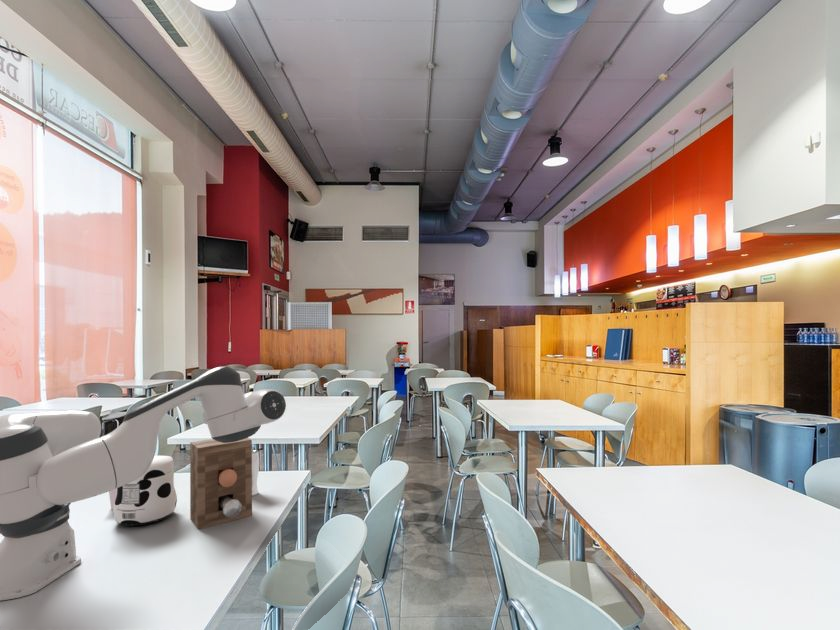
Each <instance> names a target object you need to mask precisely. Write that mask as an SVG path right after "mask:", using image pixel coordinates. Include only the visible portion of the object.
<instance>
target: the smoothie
mask: <svg viewBox="0 0 840 630" xmlns="http://www.w3.org/2000/svg"><path fill="white" fill-rule="evenodd" d="M108 494H109V495H108V496H109V502H110V509H111V510H113V508H114V503H115V500H116V496H117V488H116V489H114V490H111V491H108Z"/></svg>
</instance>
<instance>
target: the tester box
mask: <svg viewBox="0 0 840 630" xmlns="http://www.w3.org/2000/svg"><path fill="white" fill-rule="evenodd" d="M189 443H190V445H189V448H190V452H189V453H190V454H189V455H190V456H189V457H190V459H189V460H190V465H189V466H190V467H189V473H190V474H189V475H190V478H189V479H190V481H189V482H190V483H189V484H190V486H189V487H190V489H189V490H190V496H189V497H190V498H189V501H190V504H189V505H190V508H189V510H190V511H189V512H190V515H189V517H190V518H189V519H190V521H191V522H192V523H193V525H194V526H195V527H196V529H197V530H200V529H204V528H208V527H209V528H210V527H212V526H216V525H220V524H224V523H228V522H231V521H232V522H233V521H236V520H239V519H243V518H247V517H248V518H249V517H251V516H253V496H252V450H253V445H252V444H253V441H252V439H251V438H249V437H248V438H245V439H242V440H239V441H235V442H229V443H222V442H219V441H216V440H214V439H212V438H210V439H205V440H197V441H192V442H189ZM224 469H232V470H234V471H235V472H236V474H237V480H236V482H235V483H234V484H233V485H232V486H230V487H223V486H222V485H221V484H220V483H219V479H218V471H219V470H224ZM225 495H228V496H229V497H230V498H231V499H237V500H238V501H239V502H240V503H241V505H242V508H241V511H240V513H239V514H238V515H237V516H236V517H234V518H228V517H226V516H225V515H224V514H223V509H222V508H221V507H220V506H219V503H218V502H219V499H220V498H221V497H222V496H225Z"/></svg>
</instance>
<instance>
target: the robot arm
mask: <svg viewBox="0 0 840 630" xmlns="http://www.w3.org/2000/svg"><path fill="white" fill-rule="evenodd" d="M242 386H243V384H242V380H241V375H240V373H239V372H238V371H237V370H235V369H234V368H232V367H229V365H228V366H217V367H214V368H211V369H209V370H206V371H205V372H204V373H202V374H200V375H199V376H197V377H196V378H194V379H192V380H190V381H189V382H187V383H185V384H182V385H180V386H177V387H176V388H174V389H171V390H169V391H167V392H165V393H163V394H161V395H159V396H157V397H155V398H152V399H151V400H148V401H146V402H145V403H142V404H141V405H139V406H137V407H135V408H133V409H131V410H130V411H129V412H127V413H126V414H125V415H124V418H123V419H122V423H121V424H120V425H118V426H117V427H116V428H115V429H113V430H112V431H111V432H108V433H107V434H105V435H102V436H101V432H102V424H101V420H100V418H99V417H98V416H97V415H96V414H95V413H94V412H92V411H85V410H78V409H77V410H76V409H69V410H68V409H67V410H52V411H37V412H36V411H35V412H21V413H19V412H18V413H10V414H4V415H0V534H1V535H2V537H3V539H2V540H1V542H0V602H1V601H7V600H12V599H17V598H22V597H26V596H29V595H33V594H34V593H37V592H39V591H40V590H41V589H43V588H44V587H46V586H48V585H49V584H51V583H52V582H53V581H55V580H56V579H58V578H60V577H61V576H63V575H65V574H66V573H67V572H69V571H70V570H72V569H74V568H75V567H76V566H78V565H80V564H81V563H82V557H80V556H77V548H76V538H75V537H76V535H75V531H74V529H73V528H72V526H71V525H70V523H69V521H68V520H69V519H70V513H71V511H70V510H71V509H70V505H71V503H77V502H79V501H83V500H87V499H90V498H93V497H94V498H95V497H97V496H99V495H102V494H103V495H104V494H105V493H109V491H111V490H114V489H116V488H119V487H121V486H123V485H125V484H128V483H130V482H132V481H134V480H136V479H137V478H139V477H141V476H142V475H143V474H144V473H145V472H146V471H147V470H148V468H149V467H150V465H151V463H152V461H153V458H154V456H156V453H157V452H156V451H157V444H158V436H159V435H158V434H159V430H160V425H161V422H162V420H163V418H164V416H165V415H166V414H167V413H168V412H170V411H171V410H173V409H174V408H175V409H176V408H177V407H178V406H181V405H183V404H185V403H187V402H189V401H191V400H193V399H195V398H198V399H200V402H201V406H202V408H203V412H202V417H203V423H204V424H205V425H207V427H208V430H209V434H210V437H211V438H210V439H214V440H216V441H219V442H222V443H229V442H235V441H239V440H242V439H245V438H249V437H250V438H251V437H252V436H254V435H255V434H256V433H257V432H258V431H259V430H260V428H261V425H268V424H271V423H275V422H276V421H278V420H280V419H281V418H282V417H283V416H284V414H285V412H286V409H287V408H286V407H287V403H286V399H285V397H284V395H283V394H282V393H281V392H280V391H278V390H276V389H272V388H271V389H269V388H267V389H266V388H265V389H257V390H254V391H249V392H244V391H243V390H244V389H243V387H242Z"/></svg>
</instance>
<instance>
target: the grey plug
mask: <svg viewBox="0 0 840 630" xmlns="http://www.w3.org/2000/svg"><path fill="white" fill-rule="evenodd" d="M218 503H219V506H220V507H221V508H222V509H223V514H224V515H225V516H226V517H228V518H234V517H236V516H237V515H238V514H239V513H240V511H241V508H242V505H241V503H240V502H239V501H238V500H237V499H231V498H230V497H229V496H228V495H225V496H222V497H221V498H220V499H219V502H218Z"/></svg>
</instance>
